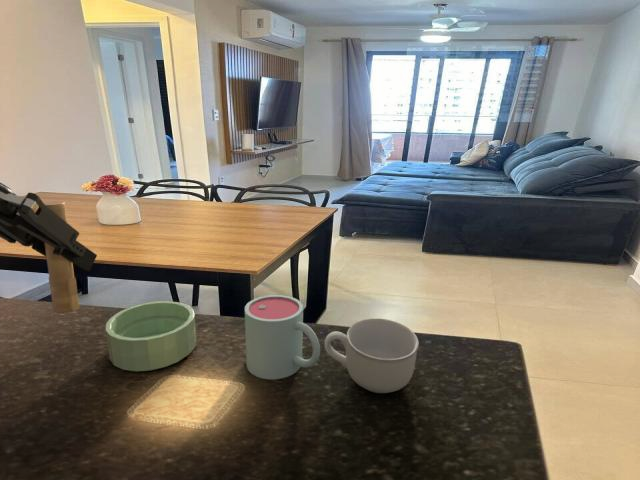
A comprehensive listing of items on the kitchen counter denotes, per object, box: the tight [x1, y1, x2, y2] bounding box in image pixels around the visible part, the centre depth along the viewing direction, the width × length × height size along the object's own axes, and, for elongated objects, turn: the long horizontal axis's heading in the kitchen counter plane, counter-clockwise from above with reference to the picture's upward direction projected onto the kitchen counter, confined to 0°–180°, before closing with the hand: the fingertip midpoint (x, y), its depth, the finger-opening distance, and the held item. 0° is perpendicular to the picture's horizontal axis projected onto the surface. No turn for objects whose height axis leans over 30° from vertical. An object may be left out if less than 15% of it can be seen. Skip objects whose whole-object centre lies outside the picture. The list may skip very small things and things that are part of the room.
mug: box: [244, 294, 321, 380], centre depth 61 cm, size 14×9×10 cm
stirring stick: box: [42, 200, 80, 314], centre depth 55 cm, size 4×3×16 cm
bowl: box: [105, 300, 197, 372], centre depth 65 cm, size 14×14×6 cm
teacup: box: [324, 317, 420, 394], centre depth 59 cm, size 14×11×8 cm
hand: (80, 261), depth 59 cm, fingers closed on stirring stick, 3 cm apart
